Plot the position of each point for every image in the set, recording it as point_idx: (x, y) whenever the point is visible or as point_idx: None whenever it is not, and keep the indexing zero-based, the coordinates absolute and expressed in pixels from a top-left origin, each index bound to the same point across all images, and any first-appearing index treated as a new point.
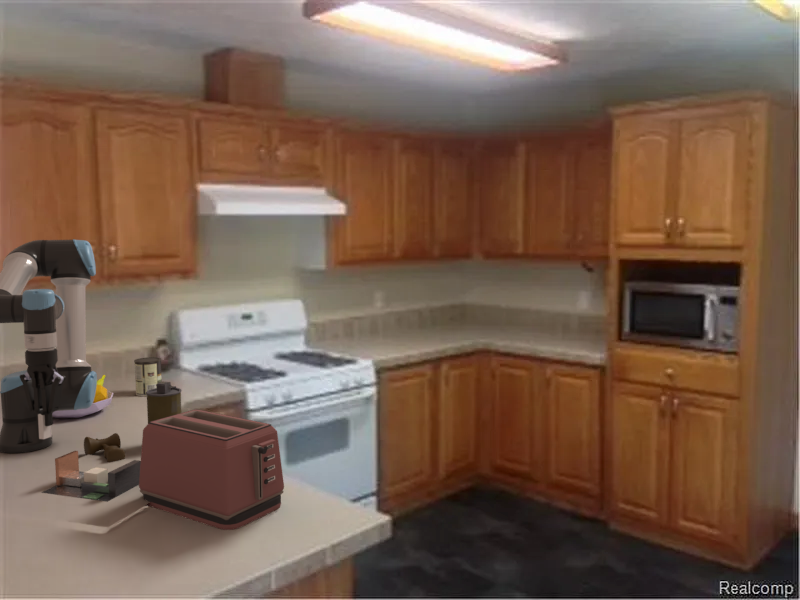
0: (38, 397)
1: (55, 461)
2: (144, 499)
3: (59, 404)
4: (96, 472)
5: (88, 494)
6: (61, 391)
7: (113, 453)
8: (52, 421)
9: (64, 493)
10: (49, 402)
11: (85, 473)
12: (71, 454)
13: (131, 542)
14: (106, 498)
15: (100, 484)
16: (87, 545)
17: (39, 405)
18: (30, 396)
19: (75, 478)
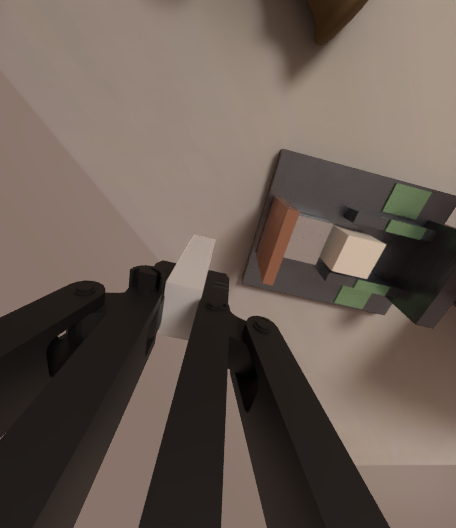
0: (109, 442)
1: (262, 279)
2: (453, 304)
3: (292, 357)
4: (363, 270)
5: (341, 292)
6: (382, 520)
7: (347, 19)
8: (228, 284)
9: (290, 286)
10: (244, 429)
11: (335, 270)
12: (289, 237)
13: (433, 399)
14: (379, 303)
15: (371, 289)
16: (379, 405)
17: (141, 367)
18: (3, 430)
19: (303, 260)
